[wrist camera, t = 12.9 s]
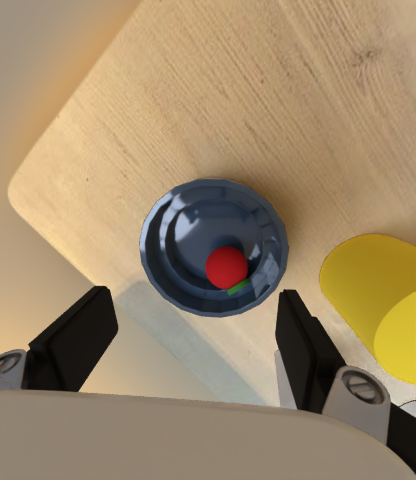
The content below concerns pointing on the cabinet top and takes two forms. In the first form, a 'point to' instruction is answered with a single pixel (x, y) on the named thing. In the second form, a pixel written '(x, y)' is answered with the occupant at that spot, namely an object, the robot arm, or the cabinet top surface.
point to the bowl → (212, 245)
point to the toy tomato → (227, 269)
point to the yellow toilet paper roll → (377, 297)
